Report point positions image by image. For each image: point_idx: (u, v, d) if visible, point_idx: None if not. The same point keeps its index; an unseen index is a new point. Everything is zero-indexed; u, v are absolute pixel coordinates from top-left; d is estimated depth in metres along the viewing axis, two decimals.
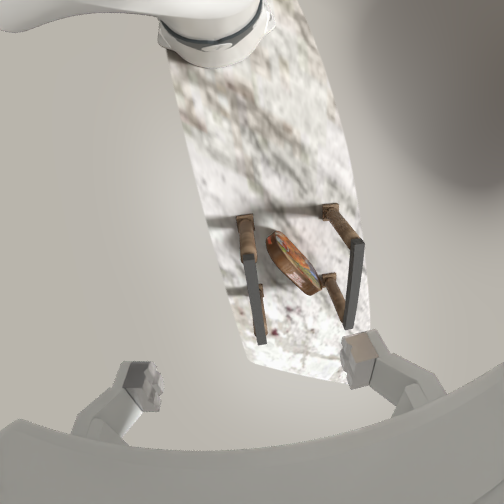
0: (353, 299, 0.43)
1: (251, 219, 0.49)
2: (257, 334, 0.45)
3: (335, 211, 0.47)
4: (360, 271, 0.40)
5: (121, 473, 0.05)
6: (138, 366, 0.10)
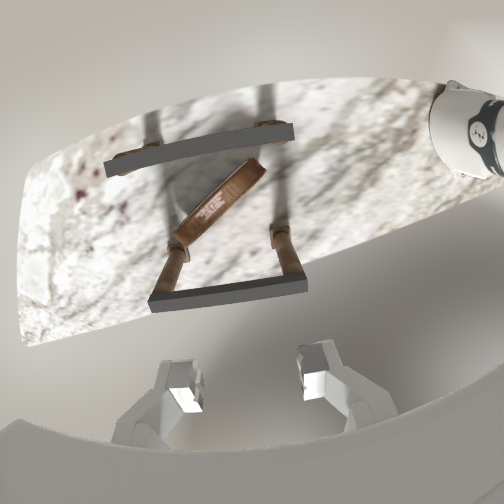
0: (211, 299, 0.29)
1: None
2: (129, 157, 0.23)
3: None
4: (263, 297, 0.30)
5: (121, 473, 0.05)
6: (181, 365, 0.10)
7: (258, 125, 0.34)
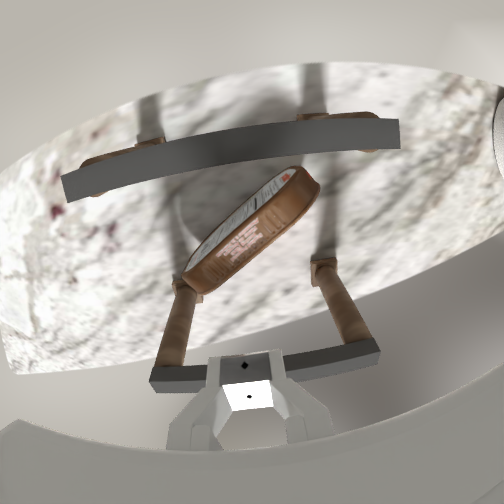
0: None
1: None
2: (102, 167, 0.12)
3: None
4: (318, 376, 0.19)
5: (121, 473, 0.05)
6: (232, 360, 0.10)
7: (304, 118, 0.23)
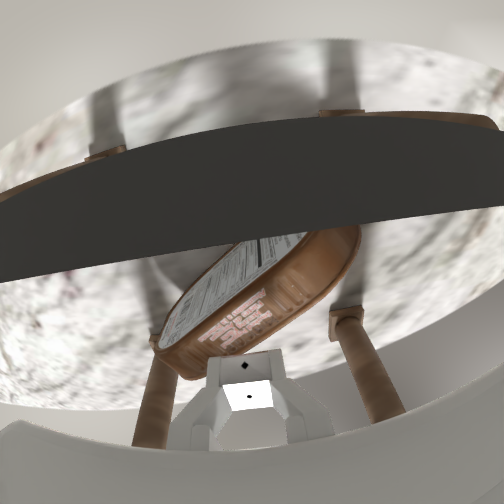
0: None
1: None
2: None
3: None
4: None
5: (121, 473, 0.05)
6: (232, 360, 0.10)
7: None
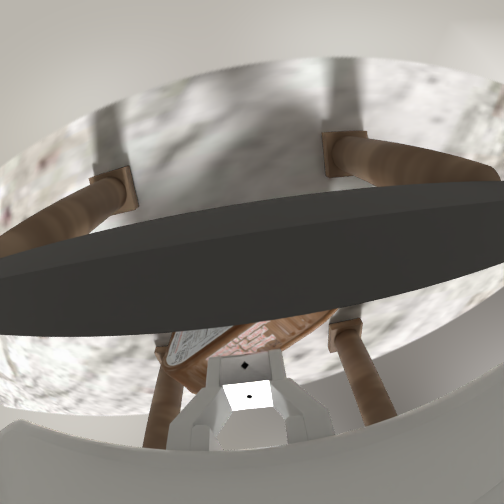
0: None
1: None
2: None
3: None
4: None
5: (121, 473, 0.05)
6: (232, 360, 0.10)
7: (333, 139, 0.16)
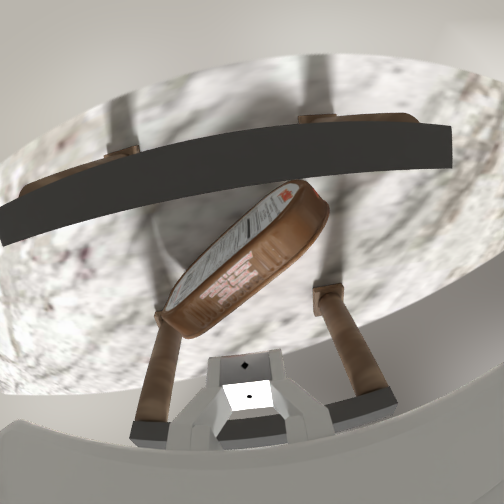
0: (238, 443, 0.14)
1: None
2: (32, 200, 0.07)
3: None
4: None
5: (121, 473, 0.05)
6: (232, 360, 0.10)
7: (307, 121, 0.19)
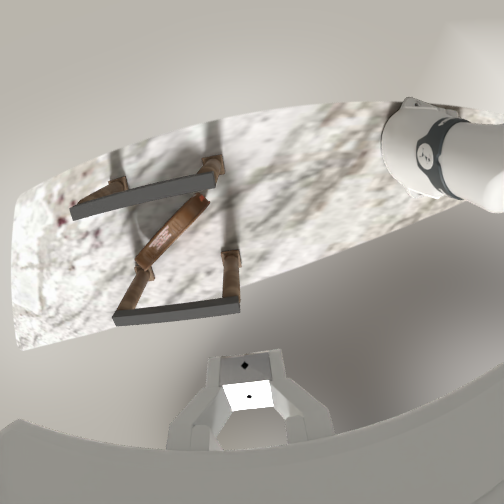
0: (160, 317, 0.34)
1: (219, 172, 0.40)
2: (87, 205, 0.27)
3: (238, 266, 0.45)
4: (201, 316, 0.34)
5: (121, 473, 0.05)
6: (232, 360, 0.10)
7: (205, 160, 0.39)
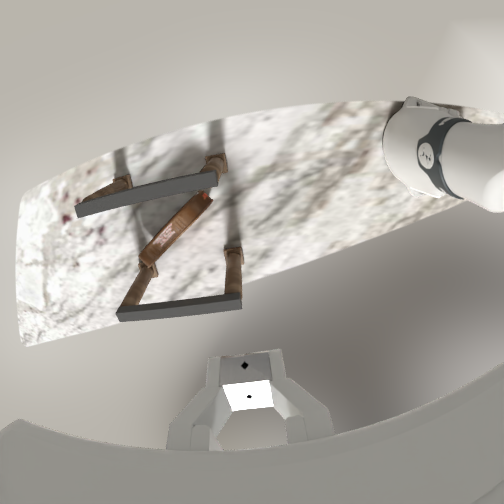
0: (163, 312, 0.35)
1: (222, 171, 0.41)
2: (92, 203, 0.28)
3: None
4: (204, 312, 0.35)
5: (121, 473, 0.05)
6: (232, 360, 0.10)
7: (208, 159, 0.40)
